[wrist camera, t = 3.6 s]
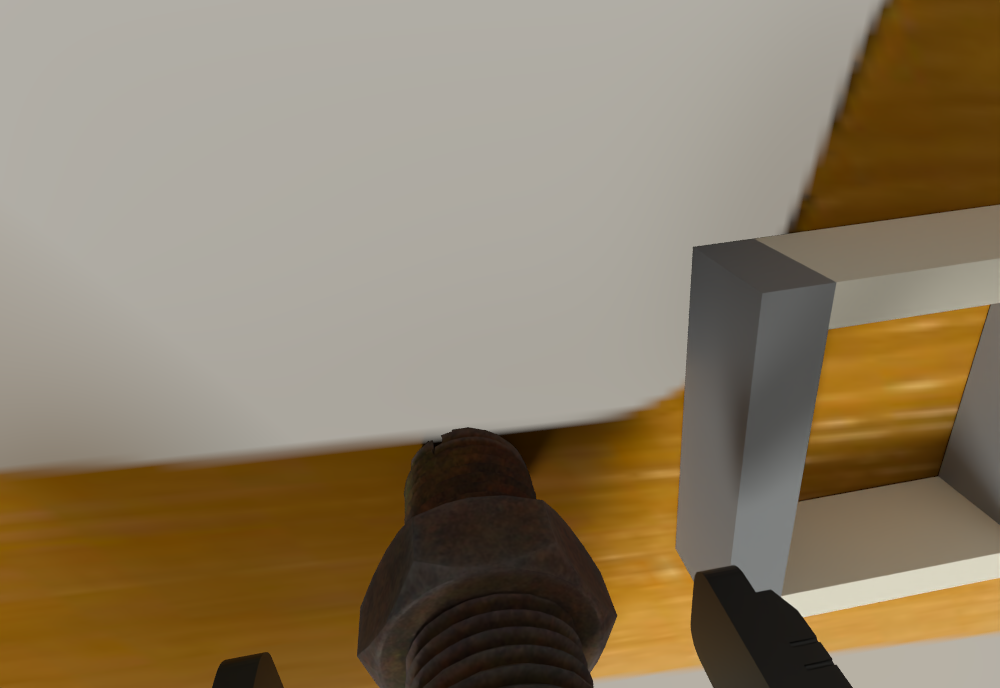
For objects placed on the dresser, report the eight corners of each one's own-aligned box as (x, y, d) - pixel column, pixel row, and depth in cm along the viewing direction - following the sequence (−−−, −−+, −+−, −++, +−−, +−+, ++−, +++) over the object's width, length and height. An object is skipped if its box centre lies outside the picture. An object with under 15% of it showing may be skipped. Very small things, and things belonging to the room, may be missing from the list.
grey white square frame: (675, 548, 18) (722, 633, 16) (693, 247, 14) (762, 293, 11) (973, 492, 19) (1066, 564, 16) (1077, 194, 15) (1225, 224, 12)
